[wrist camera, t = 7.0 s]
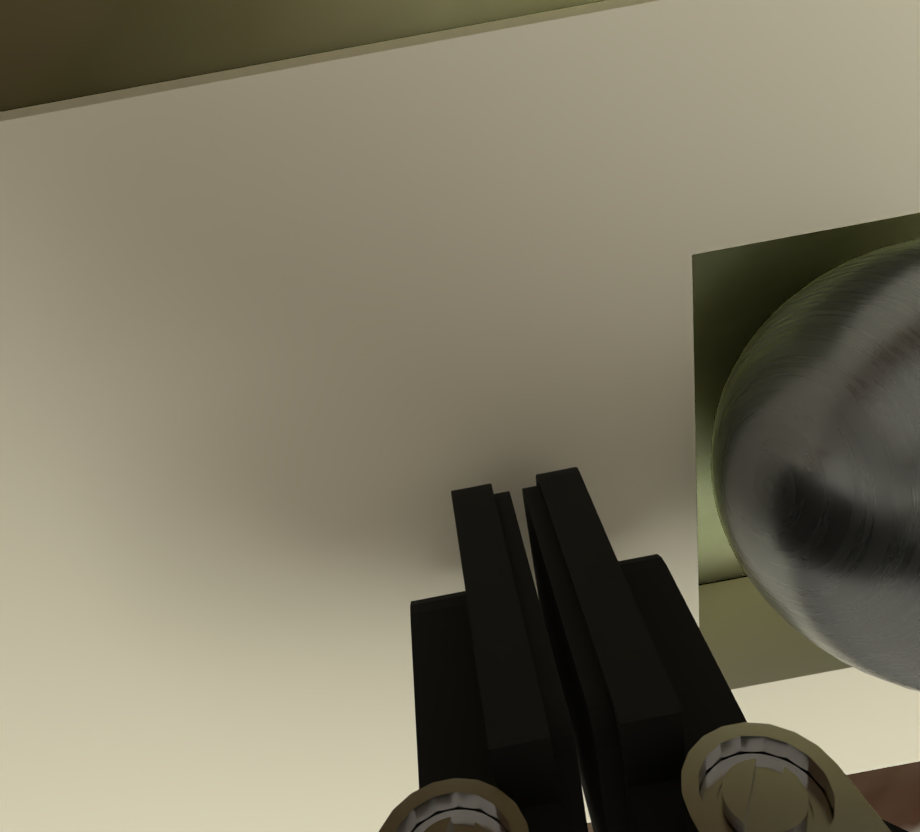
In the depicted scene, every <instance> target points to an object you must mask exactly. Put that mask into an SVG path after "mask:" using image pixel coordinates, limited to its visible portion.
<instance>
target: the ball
mask: <svg viewBox="0 0 920 832" xmlns="http://www.w3.org/2000/svg"><path fill="white" fill-rule="evenodd" d="M711 479H712V486H713V493H714V499H715V503H716V507H717V511H718V515H719V518H720V521H721V524H722V527H723V530H724V532H725V535H726V537H727V539H728V542H729V544H730V546H731V548H732V550H733V552H734V554H735V556H736V558H737V560H738V561H739V563H740V565H741V566H742V568H743V570H744V571H745V573H746V574H747V576H748V578H749V579H750V581H751V582H752V584H753V585H754V586H755V588H756V589H757V590H758V591H759V593H760V594H761V595H762V597H763V598H764V599H765V600H766V601H767V602H768V603H769V604H770V605H771V607H772V608H773V609H774V610H775V611H776V612H777V613H778V614H779V615H780V616H781V617H782V618H783V619H784V620H786V621H787V622H788V623H789V624H790V625H791V626H792V627H793V628H794V629H796V630H797V631H798V632H799V633H800V634H802V635H803V636H804V637H805V638H806V639H808V640H809V641H811V642H812V643H814V644H815V645H817V646H818V647H820V648H821V649H823V650H824V651H826V652H827V653H829V654H831V655H832V656H834V657H835V658H837V659H839V660H840V661H842V662H844V663H846V664H848V665H850V666H852V667H854V668H856V669H858V670H860V671H862V672H863V673H866V674H869V675H871V676H874V677H877V678H879V679H882V680H885V681H887V682H890V683H893V684H896V685H899V686H901V687H904V688H907V689H910V690H915V691H920V238H918V239H914V240H910V241H906V242H902V243H898V244H894V245H890V246H887V247H883V248H879V249H876V250H874V251H871V252H869V253H866V254H864V255H861V256H859V257H856V258H854V259H852V260H850V261H848V262H845V263H843V264H841V265H839V266H837V267H835V268H833V269H832V270H830V271H828V272H826V273H825V274H823V275H821V276H819V277H818V278H816V279H814V280H813V281H812V282H810V283H809V284H808V285H806V286H805V287H804V288H802V289H801V290H799V291H798V292H797V293H796V294H794V295H793V296H792V297H790V298H789V299H788V300H787V301H785V302H784V303H783V304H782V305H781V306H780V307H779V308H778V309H777V310H776V311H775V312H774V313H773V314H772V315H771V316H770V317H769V318H768V319H767V320H766V321H765V323H764V324H763V325H762V326H761V327H760V328H759V329H758V330H757V332H756V333H755V334H754V336H753V337H752V338H751V340H750V341H749V342H748V344H747V345H746V346H745V348H744V350H743V351H742V353H741V355H740V357H739V358H738V360H737V362H736V364H735V366H734V367H733V369H732V371H731V373H730V375H729V377H728V379H727V382H726V384H725V386H724V389H723V391H722V394H721V398H720V401H719V404H718V408H717V412H716V417H715V422H714V427H713V433H712V442H711Z"/></svg>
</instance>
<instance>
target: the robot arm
mask: <svg viewBox="0 0 920 832" xmlns="http://www.w3.org/2000/svg"><path fill="white" fill-rule="evenodd" d="M522 494H523V501H524V508H525V514H526V521H527V527H528V533H529V540H530V546H531V553H532V559H533V565H534V572H535V578H536V585H537V591H538V595H537V592H536V588H535V584H534V580H533V577H532V573H531V569H530V565H529V562H528V558H527V554H526V551H525V547H524V543H523V539H522V536H521V532H520V528H519V524H518V521H517V517H516V513H515V510H514V506H513V502H512V498H511V495H510V492H509V491H506V492H501V493H496V494H494V493H493V488H492V484H491V483H489V484H484V485H479V486H474V487H469V488H463V489H458V490H453V491H451V496H452V503H453V510H454V516H455V523H456V530H457V537H458V543H459V550H460V557H461V564H462V571H463V577H464V584H465V591H462V592H457V593H452V594H446V595H441V596H436V597H431V598H426V599H421V600H415V601H411V604H410V620H411V640H412V660H413V679H414V699H415V719H416V738H417V758H418V778H419V790H417V791H415V792H413V793H411V794H410V795H409V796H408V797H407V798H405V799H404V800H403V801H402V802H401V803H400V804H399V805H398V806H396V807H395V808H394V809H393V810H392V812H391V813H390V815H389V816H388V818H387V819H386V821H385V822H384V824H383V825H382V827H381V829H380V830H379V832H588V827H587V820H586V813H585V806H584V799H583V792H584V796H585V800H586V804H587V808H588V812H589V815H590V819H591V823H592V827H593V831H594V832H908V831H906V830H904V829H901V828H899V827H897V826H895V825H893V824H891V823H889V822H887V821H885V820H882V819H881V818H880V817H879V816H878V814H877V813H876V812H875V811H874V809H873V808H872V807H871V806H870V804H869V803H868V802H867V801H866V799H865V798H864V797H863V796H862V794H861V793H860V792H859V791H858V789H857V788H856V787H855V786H854V784H853V783H852V782H851V781H850V779H849V778H848V777H847V776H846V774H845V773H844V772H843V771H842V769H841V768H840V767H839V766H838V764H837V763H836V762H835V761H834V760H833V759H831V758H830V757H829V756H828V755H827V754H826V753H825V752H824V751H823V750H822V749H821V748H820V747H819V746H818V745H816V744H815V743H813V742H811V741H809V740H808V739H806V738H804V737H803V736H801V735H799V734H798V733H796V732H794V731H790V730H787V729H784V728H781V727H778V726H775V725H771V724H763V723H749V722H747V721H746V719H745V717H744V715H743V713H742V711H741V709H740V707H739V705H738V703H737V701H736V699H735V697H734V695H733V693H732V691H731V690H730V688H729V686H728V684H727V682H726V680H725V678H724V676H723V674H722V672H721V670H720V668H719V666H718V664H717V662H716V660H715V658H714V656H713V654H712V652H711V651H710V649H709V647H708V645H707V643H706V641H705V639H704V637H703V635H702V633H701V631H700V629H699V627H698V625H697V623H696V621H695V619H694V617H693V615H692V614H691V612H690V610H689V608H688V606H687V604H686V602H685V600H684V598H683V596H682V594H681V592H680V590H679V588H678V586H677V584H676V582H675V580H674V578H673V576H672V575H671V573H670V571H669V569H668V567H667V565H666V563H665V562H664V560H663V558H662V557H661V556H660V555H658V554H654V555H649V556H643V557H638V558H633V559H628V560H623V561H618V560H617V558H616V555H615V553H614V551H613V548H612V546H611V544H610V541H609V539H608V537H607V534H606V532H605V530H604V527H603V525H602V523H601V520H600V518H599V516H598V513H597V511H596V509H595V506H594V504H593V502H592V499H591V497H590V495H589V492H588V490H587V488H586V485H585V483H584V481H583V478H582V476H581V474H580V471H579V470H578V468H577V467H572V468H567V469H562V470H557V471H552V472H547V473H541V474H536V486H532V487H527V488H522ZM538 597H539V599H538ZM582 789H583V792H582Z"/></svg>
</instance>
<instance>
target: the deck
mask: <svg viewBox="0 0 920 832" xmlns="http://www.w3.org/2000/svg"><path fill="white" fill-rule="evenodd" d="M916 213H920V0H607V1H601V2H596V3H590V4H585V5H579V6H574V7H569V8H563V9H558V10H552V11H547V12H541V13H536V14H530V15H525V16H520V17H514V18H509V19H503V20H498V21H492V22H487V23H481V24H476V25H471V26H465V27H460V28H454V29H449V30H443V31H438V32H433V33H427V34H422V35H416V36H411V37H405V38H400V39H394V40H389V41H384V42H378V43H373V44H367V45H362V46H356V47H351V48H346V49H340V50H335V51H329V52H324V53H318V54H313V55H307V56H302V57H297V58H291V59H286V60H280V61H275V62H269V63H264V64H259V65H253V66H248V67H242V68H237V69H231V70H226V71H220V72H215V73H210V74H204V75H199V76H193V77H188V78H182V79H177V80H171V81H166V82H161V83H155V84H150V85H144V86H139V87H133V88H128V89H123V90H117V91H112V92H106V93H101V94H95V95H90V96H84V97H79V98H74V99H68V100H63V101H57V102H52V103H46V104H41V105H36V106H30V107H25V108H19V109H14V110H8V111H3V112H0V832H379V830H380V829H381V827H382V825H383V824H384V822H385V821H386V819H387V818H388V816H389V815H390V813H391V812H392V810H393V809H394V808H395V807H396V806H398V805H399V804H400V803H401V802H402V801H403V800H404V799H405V798H407V797H408V796H409V795H410V794H411V793H413V792H415V791H417V790H419V778H418V758H417V738H416V719H415V699H414V679H413V660H412V640H411V620H410V604H411V601H415V600H421V599H426V598H431V597H436V596H441V595H446V594H452V593H457V592H462V591H465V584H464V577H463V571H462V564H461V557H460V550H459V543H458V537H457V530H456V523H455V516H454V510H453V503H452V496H451V491H453V490H458V489H463V488H469V487H474V486H479V485H484V484H489V483H491V484H492V488H493V493H494V494H496V493H501V492H506V491H509V492H510V495H511V498H512V502H513V506H514V510H515V513H516V517H517V521H518V524H519V528H520V532H521V536H522V539H523V543H524V547H525V551H526V554H527V558H528V562H529V565H530V569H531V573H532V577H533V580H534V584H535V588H536V592H537V595H538V591H537V585H536V578H535V572H534V565H533V559H532V553H531V546H530V540H529V533H528V527H527V521H526V514H525V508H524V501H523V494H522V488H527V487H532V486H536V474H541V473H547V472H552V471H557V470H562V469H567V468H572V467H577V468H578V470H579V471H580V474H581V476H582V478H583V481H584V483H585V485H586V488H587V490H588V492H589V495H590V497H591V499H592V502H593V504H594V506H595V509H596V511H597V513H598V516H599V518H600V520H601V523H602V525H603V527H604V530H605V532H606V534H607V537H608V539H609V541H610V544H611V546H612V548H613V551H614V553H615V555H616V558H617V560H618V561H623V560H628V559H633V558H638V557H643V556H649V555H654V554H658V555H660V556H661V557H662V558H663V560H664V562H665V563H666V565H667V567H668V569H669V571H670V573H671V575H672V576H673V578H674V580H675V582H676V584H677V586H678V588H679V590H680V592H681V594H682V596H683V598H684V600H685V602H686V604H687V606H688V608H689V610H690V612H691V614H692V615H693V617H694V619H695V621H696V623H697V625H698V627H699V629H700V631H701V633H702V635H703V637H704V639H705V641H706V643H707V645H708V647H709V649H710V651H711V652H712V654H713V656H714V658H715V660H716V662H717V664H718V666H719V668H720V670H721V672H722V674H723V676H724V678H725V680H726V682H727V684H728V686H729V688H730V690H731V691H732V693H733V695H734V697H735V699H736V701H737V703H738V705H739V707H740V709H741V711H742V713H743V715H744V717H745V719H746V721H747V722H749V723H763V724H771V725H775V726H778V727H781V728H784V729H787V730H790V731H794V732H796V733H798V734H799V735H801V736H803V737H804V738H806V739H808V740H809V741H811V742H813V743H815V744H816V745H818V746H819V747H820V748H821V749H822V750H823V751H824V752H825V753H826V754H827V755H828V756H829V757H830V758H831V759H833V760H834V761H835V762H836V763H837V764H838V766H839V767H840V768H841V769H842V771H843V772H844V773H845V774H846V775H848V774H853V773H858V772H864V771H869V770H875V769H880V768H885V767H891V766H896V765H901V764H907V763H912V762H918V761H920V691H915V690H910V689H907V688H904V687H901V686H899V685H896V684H893V683H890V682H887V681H885V680H882V679H879V678H877V677H874V676H871V675H869V674H866V673H863V672H862V671H860V670H858V669H856V668H854V667H852V666H850V665H848V664H846V663H844V662H842V661H840V660H839V659H837V658H835V657H834V656H832V655H831V654H829V653H827V652H826V651H824V650H823V649H821V648H820V647H818V646H817V645H815V644H814V643H812V642H811V641H809V640H808V639H806V638H805V637H804V636H803V635H802V634H800V633H799V632H798V631H797V630H796V629H794V628H793V627H792V626H791V625H790V624H789V623H788V622H787V621H786V620H784V619H783V618H782V617H781V616H780V615H779V614H778V613H777V612H776V611H775V610H774V609H773V608H772V607H771V605H770V604H769V603H768V602H767V601H766V600H765V599H764V598H763V597H762V595H761V594H760V593H759V591H758V590H757V589H756V588H755V586H754V585H753V584H752V582H751V581H750V579H749V578H748V577H744V578H738V579H733V580H727V581H722V582H717V583H711V584H706V585H700V586H699V585H698V535H697V484H696V433H695V382H694V331H693V281H692V255H694V254H699V253H704V252H710V251H715V250H721V249H726V248H732V247H737V246H742V245H748V244H753V243H759V242H764V241H769V240H775V239H780V238H786V237H791V236H797V235H802V234H807V233H813V232H818V231H824V230H829V229H835V228H840V227H845V226H851V225H856V224H862V223H867V222H872V221H878V220H883V219H889V218H894V217H900V216H905V215H910V214H916ZM538 599H539V597H538ZM582 792H583V789H582ZM583 799H584V806H585V813H586V820H587V823H589V822H591V819H590V815H589V812H588V808H587V804H586V800H585V796H584V792H583Z"/></svg>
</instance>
